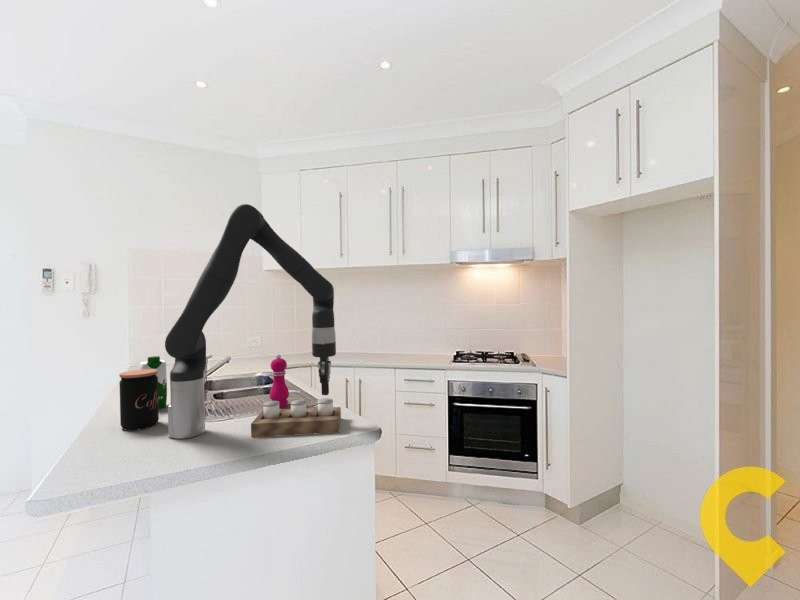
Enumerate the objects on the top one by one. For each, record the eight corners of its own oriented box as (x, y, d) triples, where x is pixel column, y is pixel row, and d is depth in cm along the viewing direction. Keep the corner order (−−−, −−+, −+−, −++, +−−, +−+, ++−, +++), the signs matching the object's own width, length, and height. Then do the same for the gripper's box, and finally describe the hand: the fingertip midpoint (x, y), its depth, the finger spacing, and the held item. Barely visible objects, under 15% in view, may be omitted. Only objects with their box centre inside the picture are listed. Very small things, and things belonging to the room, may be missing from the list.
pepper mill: (283, 409, 148) (282, 355, 148) (266, 408, 150) (264, 355, 150) (292, 403, 155) (291, 353, 155) (275, 403, 157) (274, 353, 157)
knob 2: (316, 418, 125) (316, 402, 125) (318, 413, 130) (318, 398, 130) (332, 417, 125) (332, 402, 125) (333, 413, 130) (333, 398, 130)
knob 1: (261, 421, 123) (261, 405, 123) (265, 416, 128) (265, 401, 128) (277, 420, 124) (277, 404, 124) (281, 415, 129) (280, 400, 129)
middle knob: (289, 419, 124) (289, 403, 124) (292, 415, 129) (291, 399, 129) (305, 419, 125) (305, 403, 125) (307, 414, 129) (307, 399, 129)
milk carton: (142, 412, 147) (140, 359, 147) (139, 407, 154) (137, 356, 154) (169, 407, 153) (167, 356, 153) (165, 403, 160) (163, 354, 160)
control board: (251, 437, 119) (250, 423, 119) (262, 422, 133) (262, 410, 132) (338, 432, 121) (338, 419, 121) (340, 418, 135) (340, 406, 135)
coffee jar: (136, 432, 125) (135, 375, 125) (112, 429, 128) (111, 374, 128) (166, 422, 135) (165, 369, 135) (143, 419, 138) (142, 368, 138)
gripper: (314, 339, 134) (315, 390, 134) (309, 344, 120) (311, 400, 121) (336, 338, 134) (338, 389, 135) (334, 343, 121) (335, 399, 121)
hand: (325, 394), depth 128 cm, fingers closed
